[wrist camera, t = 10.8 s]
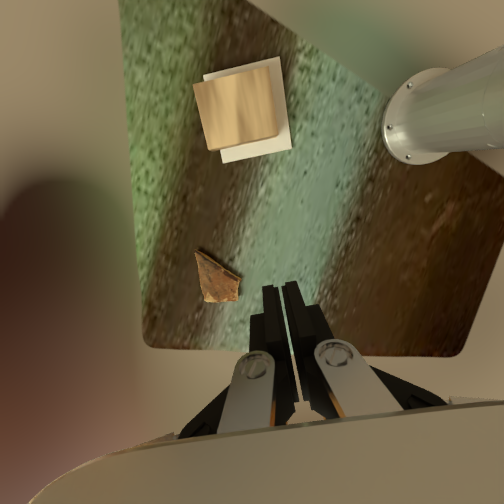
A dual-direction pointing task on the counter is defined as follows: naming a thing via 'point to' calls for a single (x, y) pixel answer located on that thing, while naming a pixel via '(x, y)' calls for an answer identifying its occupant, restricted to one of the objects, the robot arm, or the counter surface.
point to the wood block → (237, 109)
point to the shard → (216, 280)
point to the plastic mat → (283, 138)
